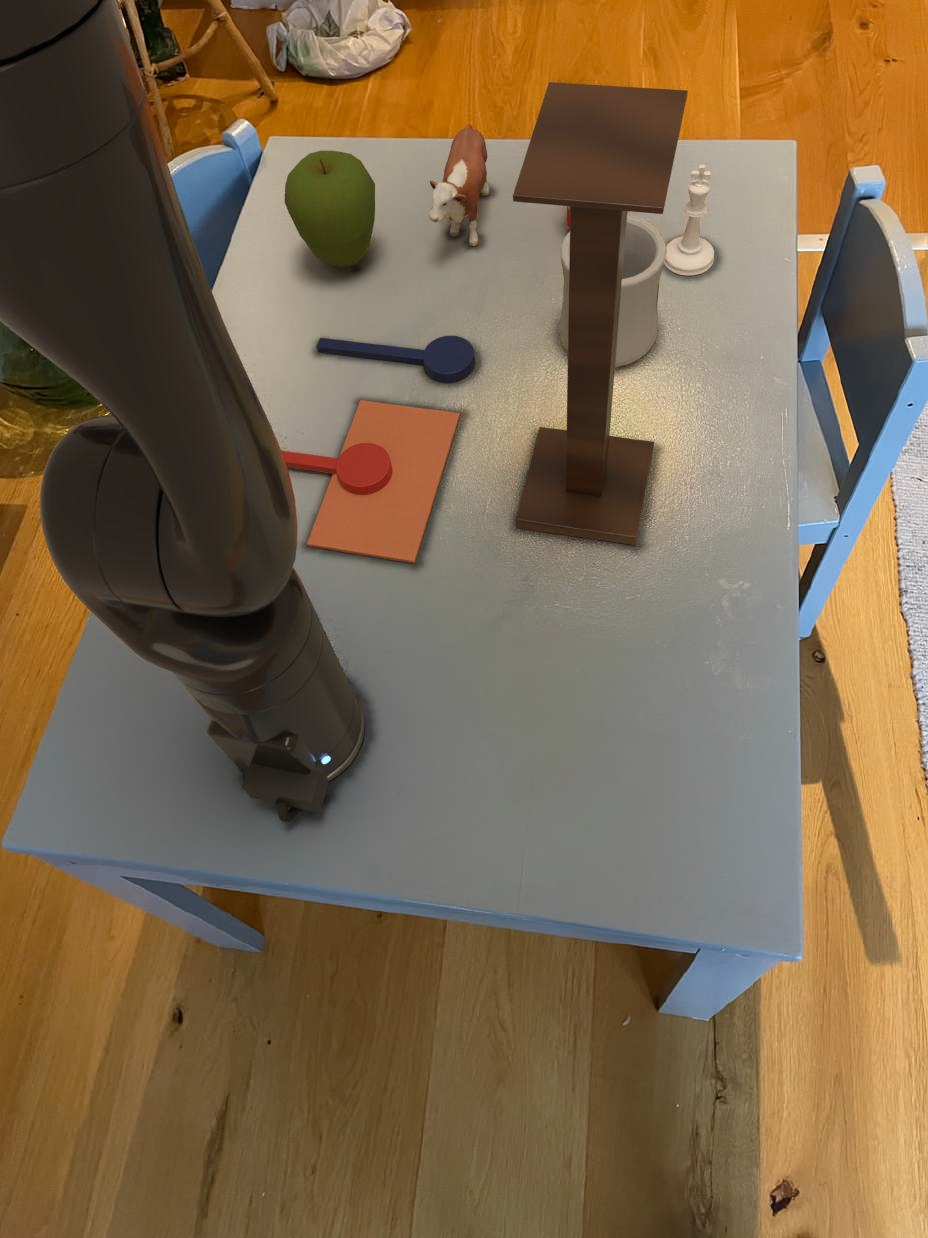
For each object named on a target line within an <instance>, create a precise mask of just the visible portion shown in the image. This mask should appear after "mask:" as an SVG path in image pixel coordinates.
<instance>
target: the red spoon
mask: <svg viewBox="0 0 928 1238" xmlns="http://www.w3.org/2000/svg"><path fill="white" fill-rule="evenodd" d="M281 452H282V454H283V457H284V460H285V463H286V466H287V468H290V469H297V470H298V469H299V470H305V471H311V472H317V473H318V472H320V473H326V474H332V475H333V474H337V476H338V479H339V481H340V483H341V485H342V486H343V488H345V489H346V490H347V491H349V492H351V493H354V494H359V495H366V494H371V493H374V492H377V491H379V490H380V489H382V488H383V487H384V486H385V485H386V484H387V483H388V482H389V480H390V478H391V476H392V464H391V460H390V457H389V454H388V453H387V451H386V450H385V449H383V448H382V447H381V446H379V445H376V444H373V443H360V444H356V445H353V446H351V447H349V448H347V449H346V450H345V451H344V452H343V453H342V454H341V453H340V454H341V455H340V454H339V456H338V457H333V456H323V455H317V454H311V453H302V452H294V451H289V450H288V451H287V450H281Z"/></svg>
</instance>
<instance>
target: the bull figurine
mask: <svg viewBox="0 0 928 1238" xmlns="http://www.w3.org/2000/svg"><path fill="white" fill-rule="evenodd" d="M487 161H488V150H487V143H486V140H485V137H484V135H483V134H482V132H481V131H479V130H478V129H476V128H473V125H472V124H466V126H465V127H464V128H462V129H460V130H458V132H457V133H456V134H455V136H454V137H453V139H452V142H451V145H450V150H449V154H448V157H447V161H446V163H445V166H444V171H443V178H442V180H441V182H439V183H437V182H436V181H433V180H431V179H430V180H429V184H430V186H431V188H432V190H433V191H432V193H431V203H432V206H431V210H430V212H429V213H428V218H429V220H431V222H433V223H440V222H442V221H443V220H444V219H449V221H450V222H451V224H450V228H449V236H451V237H456V236H458V235H459V233H460V226H461V225H460V223H462V221H463V220H464V218H465V217H469V218H468V226H469V231H470V232H469V238H468V245H469V246H471V247H477V246H478V245H479V243H480V242H479V238H478V237H479V234H478V232H477V226H478V211H479V210H478V205H479V201H480V195H481V196H482V197H485V196H489V194H490V187H489V182H488V181H487V178H488V177H487V175H488V172H487V166H486V163H487Z"/></svg>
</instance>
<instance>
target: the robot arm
mask: <svg viewBox="0 0 928 1238" xmlns="http://www.w3.org/2000/svg"><path fill="white" fill-rule="evenodd" d="M198 253H199V252H198V250H197V247H196V244H195V242H194V239H193V236H192V233H191V230H190V227H189V224H188V221H187V218H186V216H185V212H184V210H183V207H182V204H181V201H180V198H179V195H178V192H177V189H176V186H175V183H174V180H173V177H172V174H171V170H170V167H169V164H168V161H167V158H166V154H165V151H164V147H163V144H162V141H161V138H160V134H159V130H158V127H157V124H156V120H155V117H154V113H153V110H152V107H151V104H150V101H149V97H148V93H147V90H146V85H145V83H144V80H143V77H142V73H141V70H140V68H139V65H138V62H137V59H136V55H135V53H134V50H133V47H132V44H131V41H130V38H129V35H128V32H127V28H126V26H125V22H124V19H123V16H122V14H121V11H120V8H119V5H118V1H117V0H0V323H1V324H3V325H4V326H5V327H7V328H8V329H9V330H10V331H12V332H13V333H14V334H16V335H17V336H18V337H19V338H20V339H21V340H23V341H24V342H26V344H28V345H29V346H30V347H32V348H33V349H34V350H36V351H37V352H38V353H39V354H41V355H42V356H43V357H45V358H46V359H47V360H49V361H50V362H51V363H52V364H54V365H55V366H56V367H58V369H60V370H61V371H63V372H64V373H65V374H66V375H68V376H69V377H70V378H71V379H73V381H75V382H76V383H77V384H78V385H80V386H81V387H82V388H83V389H85V391H87V392H88V393H89V394H90V395H92V397H94V398H95V399H96V401H98V403H100V404H101V405H102V406H103V407H104V408H105V410H107V411H108V412H109V413H110V414H109V415H99V416H94V417H92V418H89V419H88V418H87V419H86V420H83V421H80V422H79V423H78V424H76V425H75V426H73V427H71V429H69V430H68V431H67V432H66V433H65V434H63V436H62V437H61V438H60V439H59V440H58V442H57V443H56V444H55V446H54V448H53V449H52V451H51V453H50V454H49V457H48V459H47V462H46V464H45V468H44V471H43V475H42V479H41V483H40V491H39V516H40V523H41V524H40V525H41V529H42V532H43V537H44V540H45V544H46V546H47V550H48V553H49V555H50V557H51V560H52V562H53V564H54V566H55V568H56V570H57V571H58V573H59V574H60V576H61V578H62V579H63V581H64V583H65V584H66V586H68V588H69V589H70V591H72V592H73V594H74V595H75V596H76V597H77V599H79V601H80V602H81V603H82V604H83V605H84V606H85V607H86V608H87V609H88V610H89V611H90V612H91V613H92V614H93V615H95V617H96V618H97V619H98V620H99V621H100V622H102V623H103V625H105V626H106V627H107V628H108V629H109V630H110V631H111V633H113V634H114V635H115V637H117V638H118V639H119V640H120V641H121V642H122V643H124V644H125V646H127V647H128V648H129V649H130V650H131V651H132V652H133V653H135V654H136V655H137V656H138V657H140V658H141V659H142V660H144V661H146V662H147V663H150V664H152V665H154V666H155V667H158V668H160V669H163V670H165V671H168V672H170V673H172V674H173V675H174V676H175V677H176V678H177V679H178V680H179V682H180V683H181V684H182V686H183V687H184V688H185V689H186V690H187V691H188V693H190V695H191V696H192V697H193V699H194V700H195V702H197V703H198V704H199V705H200V707H201V708H202V709H203V710H204V711H205V713H206V714H207V715H208V717H210V722H209V725H208V726H207V729H206V734H207V735H208V736H209V738H211V740H212V741H213V742H214V743H215V745H217V746H218V748H219V749H220V750H221V752H223V753H224V754H225V755H226V756H227V758H229V760H230V761H231V762H232V763H233V764H234V765H235V766H236V767H237V769H238V770H239V771H240V772H241V773H242V774H243V775H244V776H245V778H244V780H243V783H242V786H241V789H242V790H243V791H244V792H245V793H246V794H247V795H248V796H249V797H250V799H253V800H258V801H262V802H263V801H264V802H267V803H272V804H275V805H276V812H277V816H278V819H279V820H280V821H281V822H284V823H289V822H290V823H291V822H292V821H294V820H295V819H296V818H297V817H298V815H299V814H300V813H301V812H302V811H303V810H304V811H308V812H313V813H318V814H319V813H321V809H322V806H323V804H324V800H325V797H326V795H327V790H328V788H329V784H330V781H333V779H335V778H337V777H338V776H339V775H341V774H342V773H343V772H344V771H345V770H346V769H347V768H348V767H349V766H350V765H351V764H352V762H353V761H354V760H355V758H356V757H357V755H358V753H359V751H360V749H361V747H362V744H363V742H364V737H365V730H366V720H365V713H364V709H363V707H362V703H361V702H360V699H359V697H358V695H357V694H356V692H355V691H354V689H353V688H352V686H351V683H350V680H349V679H348V677H347V675H346V673H345V671H344V668H343V667H342V665H341V662H340V660H339V658H338V657H337V654H336V652H335V649H334V647H333V646H332V643H331V642H330V639H329V636H328V635H327V632H326V631H325V628H324V627H323V624H322V622H321V620H320V617H319V615H318V613H317V611H316V609H315V607H314V605H313V602H312V601H311V598H310V596H309V594H308V591H307V590H306V587H305V586H304V583H303V581H302V578H301V577H300V576H299V573H298V572H297V571H296V569H295V567H294V564H295V562H296V557H297V556H296V555H297V549H298V541H299V538H298V535H299V533H298V532H299V529H298V527H299V525H298V523H299V522H298V513H297V504H296V498H295V492H294V487H293V484H292V479H291V477H290V476H291V475H290V471H289V469H288V467H287V466H286V463H285V460H284V457H283V454H282V452H281V451H282V449H281V447H280V443H279V442H278V439H277V437H276V434H275V432H274V430H273V428H272V424H271V423H270V421H269V419H268V416H267V414H266V411H265V409H264V407H263V405H262V404H261V401H260V399H259V397H258V394H257V392H256V391H255V387H254V386H253V384H252V381H251V379H250V377H249V376H248V375H249V374H248V373H247V370H246V369H245V367H244V364H243V362H242V359H241V358H240V355H239V354H238V350H237V349H236V346H235V345H234V342H233V341H232V338H231V336H230V334H229V331H228V329H227V326H226V324H225V321H224V319H223V317H222V314H221V312H220V309H219V307H218V305H217V301H216V299H215V297H214V294H213V292H212V291H213V290H212V289H211V286H210V283H209V281H208V278H207V275H206V272H205V269H204V267H203V264H202V261H201V259H200V255H199V254H198ZM288 807H290V808H289V809H288Z"/></svg>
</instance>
